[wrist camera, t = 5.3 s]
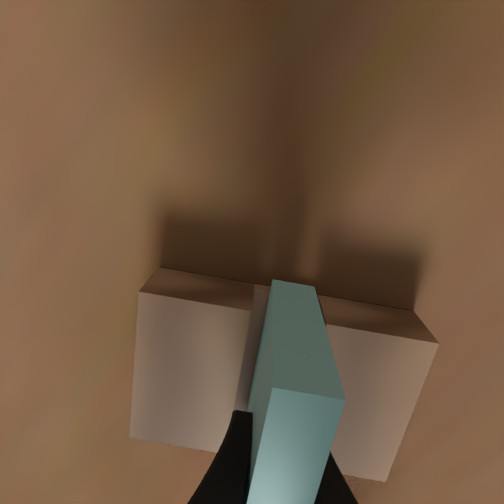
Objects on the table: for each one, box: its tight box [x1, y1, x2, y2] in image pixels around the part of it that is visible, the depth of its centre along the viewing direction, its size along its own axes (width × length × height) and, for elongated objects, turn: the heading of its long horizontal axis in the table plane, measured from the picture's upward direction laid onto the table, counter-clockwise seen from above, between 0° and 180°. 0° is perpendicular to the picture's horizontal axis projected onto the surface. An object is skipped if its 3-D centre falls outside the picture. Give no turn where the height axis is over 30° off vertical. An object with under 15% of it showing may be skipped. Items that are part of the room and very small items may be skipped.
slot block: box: [129, 267, 439, 482], centre depth 15 cm, size 11×7×2 cm, turn 81°
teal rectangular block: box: [242, 279, 346, 504], centre depth 12 cm, size 2×9×6 cm, turn 171°
